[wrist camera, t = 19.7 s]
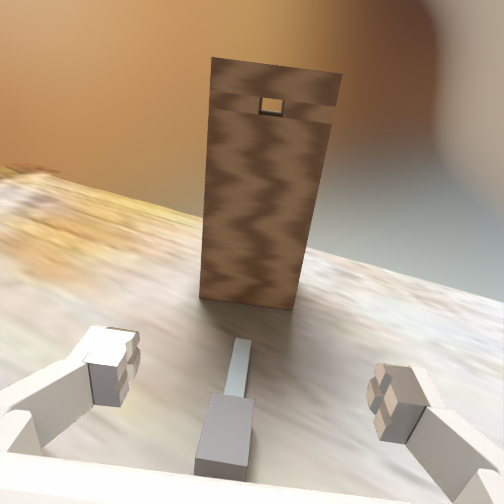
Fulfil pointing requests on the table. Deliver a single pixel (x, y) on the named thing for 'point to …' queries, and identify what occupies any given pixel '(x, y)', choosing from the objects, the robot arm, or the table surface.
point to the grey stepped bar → (228, 424)
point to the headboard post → (262, 178)
